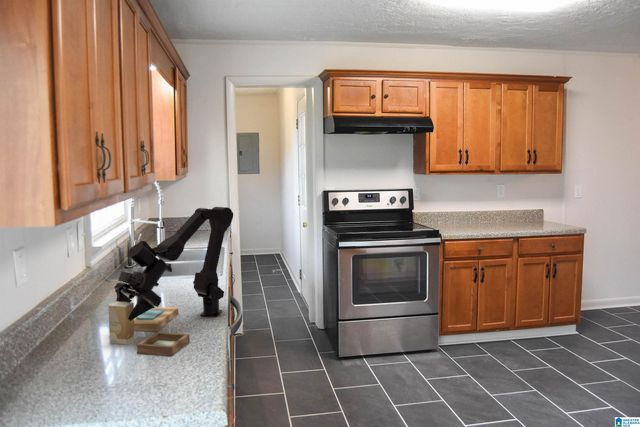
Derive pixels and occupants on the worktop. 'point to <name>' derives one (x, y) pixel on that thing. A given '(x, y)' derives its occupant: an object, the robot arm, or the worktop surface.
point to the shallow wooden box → (155, 318)
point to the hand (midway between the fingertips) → (121, 317)
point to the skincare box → (121, 323)
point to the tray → (163, 343)
